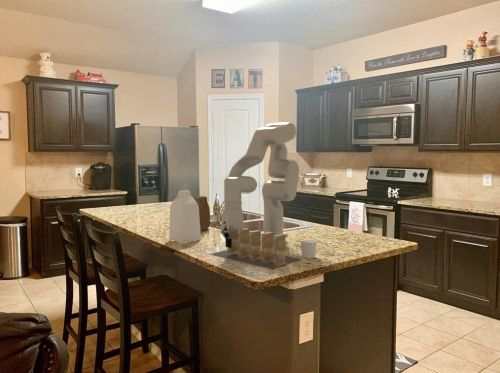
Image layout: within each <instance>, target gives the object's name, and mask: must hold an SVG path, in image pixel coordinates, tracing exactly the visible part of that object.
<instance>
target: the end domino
mask: <svg viewBox="0 0 500 373" xmlns="http://www.w3.org/2000/svg"><path fill="white" fill-rule="evenodd" d="M228 234H229V233H228ZM230 239H232V247H231V248H228V247H226V248H227V249H226V250H227V253H235V252H238V231H233V232H232V233H231V238H230Z"/></svg>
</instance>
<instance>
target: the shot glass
mask: <svg viewBox="0 0 500 373" xmlns="http://www.w3.org/2000/svg"><path fill="white" fill-rule="evenodd" d="M300 250H301V257H302V258H305V259H314V258H316V252H317V241H315V240H302V241H300Z"/></svg>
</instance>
